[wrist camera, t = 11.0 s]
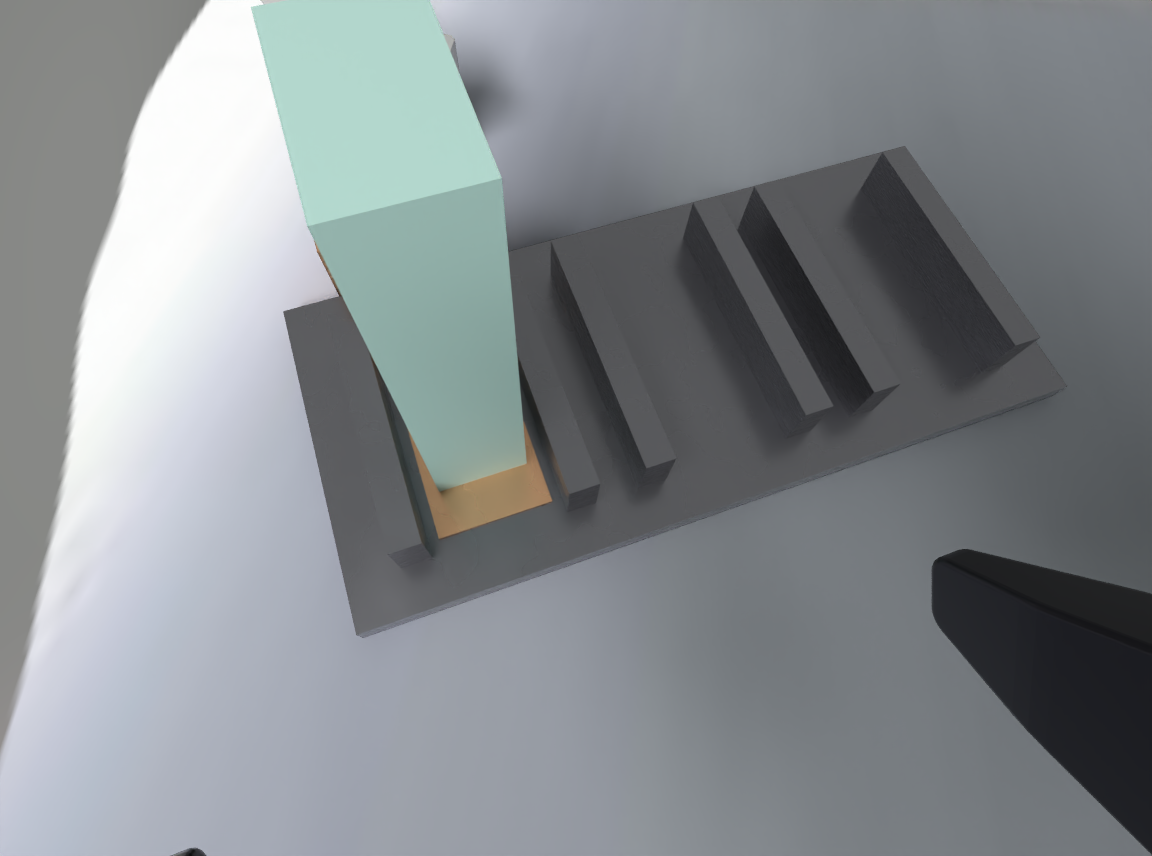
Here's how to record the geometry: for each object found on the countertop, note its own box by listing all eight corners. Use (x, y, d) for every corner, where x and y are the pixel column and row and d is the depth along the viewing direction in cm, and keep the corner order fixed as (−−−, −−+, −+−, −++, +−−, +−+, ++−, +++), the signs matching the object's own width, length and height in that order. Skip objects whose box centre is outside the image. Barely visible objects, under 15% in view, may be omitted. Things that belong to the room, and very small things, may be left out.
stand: (1051, 395, 25) (1158, 328, 21) (363, 637, 21) (313, 617, 16) (890, 161, 29) (950, 64, 25) (291, 323, 25) (236, 240, 21)
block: (483, 339, 24) (419, -26, 12) (526, 463, 22) (501, 178, 10) (401, 363, 24) (251, 6, 12) (439, 491, 22) (307, 226, 10)
